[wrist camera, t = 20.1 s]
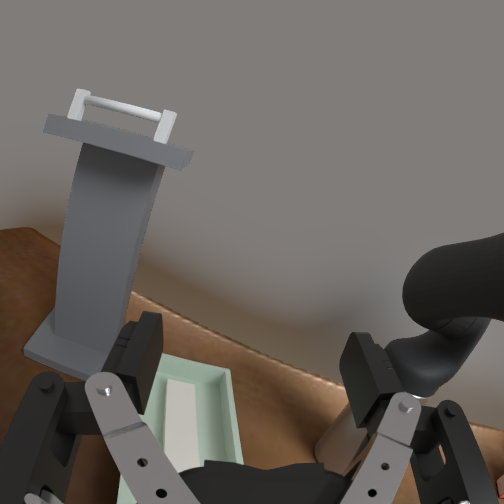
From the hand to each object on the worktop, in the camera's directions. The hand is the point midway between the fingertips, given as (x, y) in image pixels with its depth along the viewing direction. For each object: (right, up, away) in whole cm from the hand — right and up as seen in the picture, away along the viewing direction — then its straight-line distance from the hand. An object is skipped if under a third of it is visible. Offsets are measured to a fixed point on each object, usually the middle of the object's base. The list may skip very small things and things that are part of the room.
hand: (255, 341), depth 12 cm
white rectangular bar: (-9, -20, +18) cm, 28 cm away
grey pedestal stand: (-26, -11, +27) cm, 39 cm away
